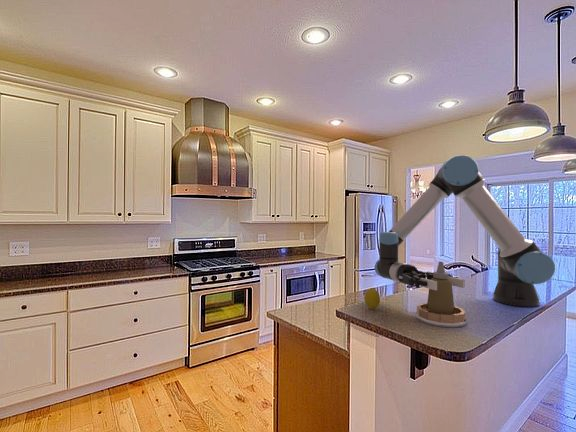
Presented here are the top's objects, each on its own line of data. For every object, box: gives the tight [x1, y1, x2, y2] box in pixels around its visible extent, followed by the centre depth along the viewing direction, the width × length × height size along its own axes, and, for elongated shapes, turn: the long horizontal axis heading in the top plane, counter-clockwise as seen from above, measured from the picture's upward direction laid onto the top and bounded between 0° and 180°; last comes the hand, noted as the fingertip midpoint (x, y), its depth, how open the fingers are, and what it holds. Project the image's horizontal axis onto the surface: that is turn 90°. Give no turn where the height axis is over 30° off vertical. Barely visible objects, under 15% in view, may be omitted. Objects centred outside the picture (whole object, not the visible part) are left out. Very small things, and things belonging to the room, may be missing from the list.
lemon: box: [364, 287, 381, 310], centre depth 114 cm, size 6×6×8 cm
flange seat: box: [415, 302, 467, 329], centre depth 102 cm, size 15×15×4 cm
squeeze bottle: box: [426, 261, 455, 314], centre depth 102 cm, size 8×8×18 cm
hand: (450, 284), depth 98 cm, fingers open, 10 cm apart
